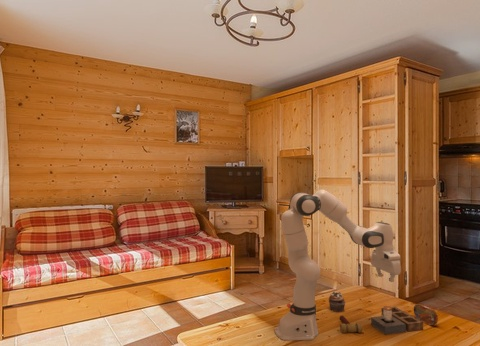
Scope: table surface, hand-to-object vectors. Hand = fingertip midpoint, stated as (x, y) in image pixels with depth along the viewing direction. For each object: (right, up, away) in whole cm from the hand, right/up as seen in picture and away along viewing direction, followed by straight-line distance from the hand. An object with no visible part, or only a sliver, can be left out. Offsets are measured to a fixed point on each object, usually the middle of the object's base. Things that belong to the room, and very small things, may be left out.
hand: (385, 278), depth 182 cm
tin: (+25, -26, +7) cm, 37 cm away
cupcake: (-18, -27, +26) cm, 41 cm away
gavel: (-20, -27, +4) cm, 33 cm away
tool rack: (+12, -26, +7) cm, 29 cm away
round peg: (+1, -26, -1) cm, 26 cm away
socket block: (+1, -26, -1) cm, 26 cm away
